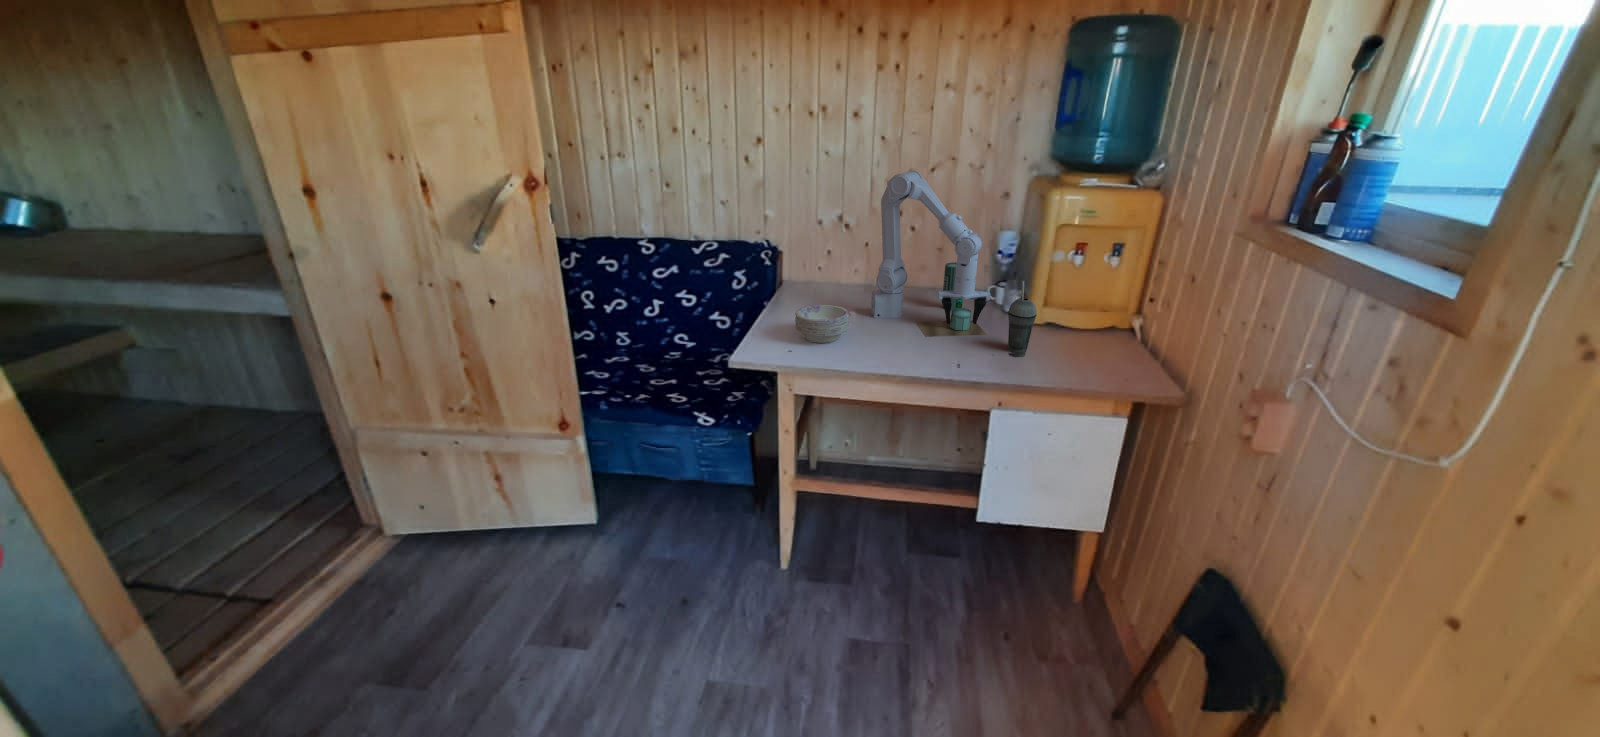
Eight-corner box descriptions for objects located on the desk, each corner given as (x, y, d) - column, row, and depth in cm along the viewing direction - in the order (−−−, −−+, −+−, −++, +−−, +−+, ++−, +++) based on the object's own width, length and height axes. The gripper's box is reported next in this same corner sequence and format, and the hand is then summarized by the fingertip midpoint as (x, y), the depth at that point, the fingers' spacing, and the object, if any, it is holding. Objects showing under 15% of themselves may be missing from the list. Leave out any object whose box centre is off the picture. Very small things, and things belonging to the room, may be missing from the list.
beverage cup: (1016, 361, 172) (1026, 287, 164) (996, 351, 178) (1005, 280, 170) (1036, 356, 175) (1047, 283, 167) (1016, 347, 181) (1026, 276, 173)
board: (925, 340, 186) (925, 336, 186) (915, 326, 197) (915, 322, 197) (987, 338, 187) (987, 334, 187) (973, 324, 198) (973, 320, 198)
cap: (946, 325, 193) (948, 309, 191) (961, 322, 195) (963, 306, 193) (958, 331, 188) (959, 314, 186) (973, 328, 190) (974, 312, 188)
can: (962, 313, 207) (967, 267, 201) (943, 313, 207) (947, 267, 201) (958, 307, 213) (963, 262, 207) (940, 307, 213) (944, 262, 207)
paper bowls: (811, 325, 198) (811, 300, 195) (857, 334, 191) (857, 308, 188) (785, 341, 186) (785, 315, 183) (833, 351, 179) (833, 324, 176)
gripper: (941, 281, 182) (938, 327, 188) (994, 281, 182) (989, 327, 187) (938, 274, 189) (934, 318, 194) (989, 274, 188) (984, 319, 194)
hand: (961, 322), depth 191 cm, fingers open, 7 cm apart
